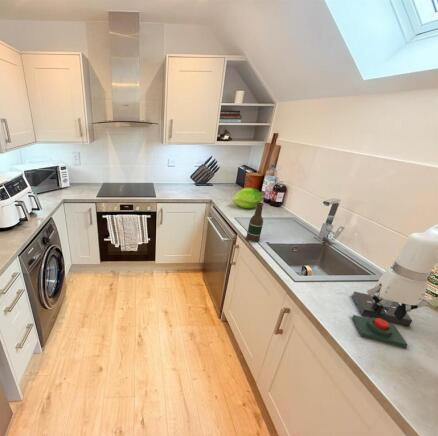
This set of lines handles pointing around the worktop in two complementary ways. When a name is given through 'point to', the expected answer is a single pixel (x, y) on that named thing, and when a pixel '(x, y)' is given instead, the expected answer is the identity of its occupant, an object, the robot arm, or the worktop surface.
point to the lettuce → (247, 198)
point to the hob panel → (387, 314)
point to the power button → (381, 323)
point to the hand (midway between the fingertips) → (386, 314)
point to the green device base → (378, 331)
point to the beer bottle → (255, 224)
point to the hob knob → (387, 303)
